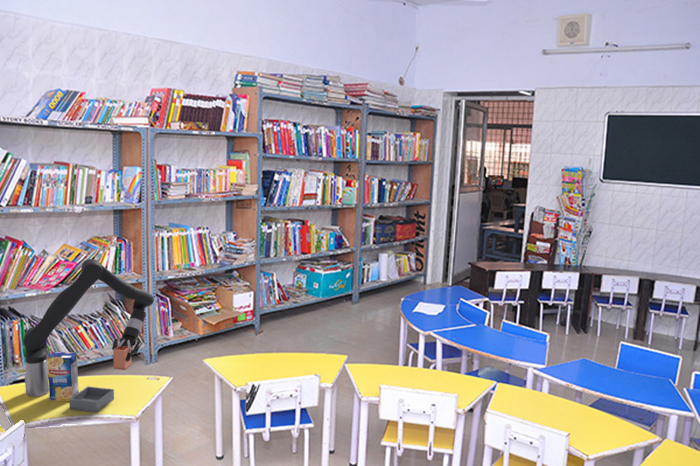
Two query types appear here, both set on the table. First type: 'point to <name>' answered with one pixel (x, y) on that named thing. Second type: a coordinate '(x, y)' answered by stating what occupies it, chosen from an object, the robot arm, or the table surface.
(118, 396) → the table surface
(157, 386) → the table surface
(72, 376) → the blue food box
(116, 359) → the orange square cup
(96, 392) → the charcoal crate
